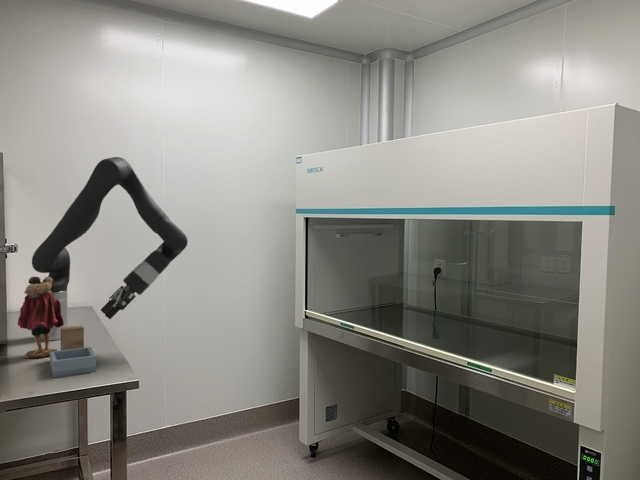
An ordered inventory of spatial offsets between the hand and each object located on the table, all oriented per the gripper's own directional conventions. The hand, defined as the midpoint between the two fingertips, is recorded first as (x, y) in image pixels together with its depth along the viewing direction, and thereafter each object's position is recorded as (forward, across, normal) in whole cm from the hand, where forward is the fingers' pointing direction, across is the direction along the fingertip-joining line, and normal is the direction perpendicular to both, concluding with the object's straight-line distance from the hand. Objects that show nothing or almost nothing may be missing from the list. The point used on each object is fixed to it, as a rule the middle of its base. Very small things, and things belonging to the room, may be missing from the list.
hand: (104, 314), depth 159 cm
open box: (+17, +11, +2) cm, 20 cm away
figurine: (+22, -10, -3) cm, 24 cm away
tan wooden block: (+16, 0, +2) cm, 16 cm away
